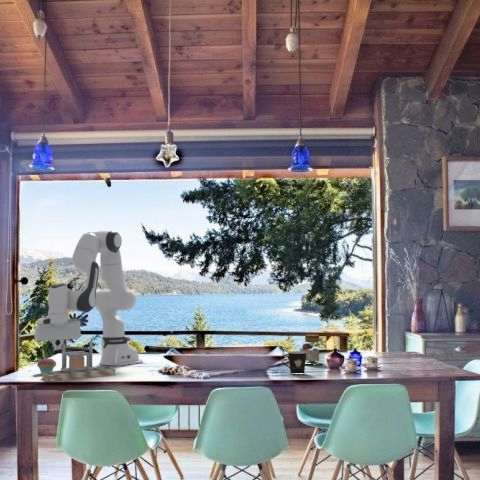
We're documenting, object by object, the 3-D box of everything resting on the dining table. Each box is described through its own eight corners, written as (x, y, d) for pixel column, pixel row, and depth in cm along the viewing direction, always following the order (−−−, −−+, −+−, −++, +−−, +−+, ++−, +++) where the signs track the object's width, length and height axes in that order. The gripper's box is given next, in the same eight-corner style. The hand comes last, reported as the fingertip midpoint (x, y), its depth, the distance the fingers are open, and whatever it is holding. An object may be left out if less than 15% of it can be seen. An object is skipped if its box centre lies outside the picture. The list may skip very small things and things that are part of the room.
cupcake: (38, 375, 280) (39, 349, 281) (35, 372, 287) (36, 347, 288) (57, 374, 284) (57, 348, 284) (54, 371, 291) (54, 346, 292)
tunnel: (82, 369, 283) (82, 350, 283) (89, 371, 275) (89, 353, 275) (63, 370, 278) (63, 352, 278) (69, 373, 270) (69, 354, 270)
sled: (90, 367, 283) (90, 341, 283) (94, 368, 278) (94, 342, 279) (60, 370, 275) (60, 343, 276) (63, 371, 271) (63, 344, 271)
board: (107, 371, 290) (107, 365, 290) (115, 374, 281) (115, 368, 281) (42, 378, 273) (42, 371, 273) (48, 381, 264) (48, 374, 265)
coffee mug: (309, 372, 285) (308, 351, 285) (303, 375, 277) (302, 353, 277) (286, 371, 289) (285, 350, 290) (279, 374, 282) (279, 352, 282)
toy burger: (302, 361, 321) (302, 333, 322) (325, 362, 316) (325, 334, 317) (296, 364, 310) (296, 335, 311) (320, 366, 305) (320, 336, 306)
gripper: (78, 317, 281) (78, 347, 281) (33, 319, 270) (33, 350, 270) (82, 318, 276) (82, 348, 275) (37, 320, 265) (36, 352, 264)
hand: (57, 349), depth 272 cm, fingers closed
